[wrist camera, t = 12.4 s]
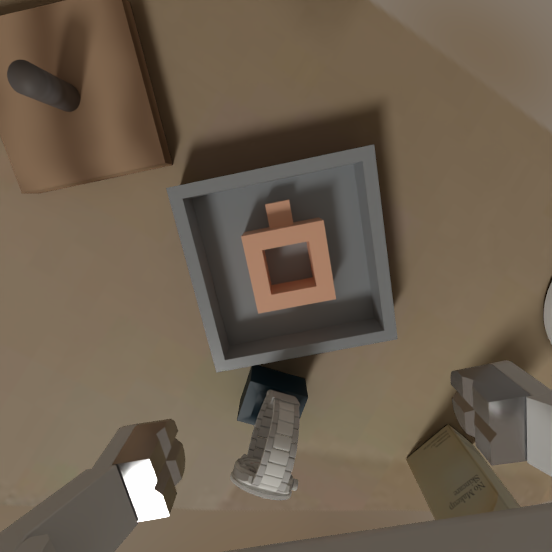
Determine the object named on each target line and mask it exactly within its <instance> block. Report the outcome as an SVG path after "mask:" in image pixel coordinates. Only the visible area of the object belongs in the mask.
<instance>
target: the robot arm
mask: <svg viewBox="0 0 552 552" xmlns="http://www.w3.org/2000/svg"><path fill="white" fill-rule="evenodd" d="M544 324H545V329H546V333H547V336H548V338H549V340H550V342H551V344H552V282H551V284H550V287H549V289H548V292H547V296H546V299H545V305H544ZM451 385H452V386H453V387H454V388H455V389H456V390H457V391H456V393H455V394H454V396H453V398H452V401H453V409H454V412H455V415H456V418H457V420H458V422H459V424H460V426H461V427H462V428H463V430H464V431H465V432H466V433H467V434H469V435H471V436H473V437H475V442H476V446H477V448H478V449H479V450H480V451H481V453H482V454H483V455H484V456H485V458H486V459H487V460H488V461H489V463H490V464H491V465H499V464H507V463H515V462H523V461H527V463H529V464H531V465H532V466H534V467H536V468H538V469H539V470H541V471H543V472H544V473H546V474H548V475H550V476H551V477H552V390H550V389H549V388H548V387H546V386H545V385H543V384H542V383H541V382H539V381H538V380H536V379H535V378H534V377H532V376H531V375H529V374H528V373H527V372H525V371H524V370H522V369H521V368H520V367H518V366H517V365H515V364H514V363H513V362H511V361H507V360H504V361H499V362H494V363H490V364H486V365H481V366H476V367H471V368H465V369H460V370H455V371H452V372H451ZM177 432H178V429H177V426H176V424H175V421H174V420H172V419H166V420H159V421H153V422H146V423H140V424H133V425H127V426H123V427H121V428H119V429H118V431H117V432H116V434H115V435H114V437H113V438H112V440H111V441H110V443H109V444H108V446H107V447H106V448H105V450H104V451H103V453H102V454H101V456H100V457H99V459H98V460H97V462H96V463H95V465H94V466H93V468H92V469H88V470H85V471H84V472H82V473H81V474H80V475H78V476H77V477H76V478H74V479H73V480H72V481H70V482H69V483H67V484H66V485H65V486H63V487H62V488H61V489H59V490H58V491H56V492H55V493H54V494H52V495H51V496H50V497H48V498H47V499H46V500H44V501H43V502H41V503H40V504H39V505H37V506H36V507H35V508H33V509H32V510H30V511H29V512H28V513H26V514H25V515H24V516H22V517H21V518H19V519H18V520H17V521H16V522H14V523H13V524H11V525H10V526H9V527H7V528H6V529H4V530H3V531H2V532H0V552H114V551H115V550H116V549H117V548H118V547H119V545H120V544H121V543H122V542H123V541H124V540H125V539H126V537H127V536H128V535H129V534H130V533H131V531H132V530H133V529H134V528H135V527H136V525H137V524H138V522H139V521H145V520H150V519H155V518H160V517H166V516H169V515H170V512H171V509H172V506H173V503H174V500H175V498H176V495H177V492H176V489H175V485H176V484H177V483H178V482H179V481H180V480H181V479H182V476H183V473H184V469H185V453H184V448H183V445H182V443H181V442H180V441H178V440H177V439H176V438H175V437H176V434H177ZM224 552H552V503H546V504H539V505H532V506H526V507H519V508H512V509H506V510H499V511H492V512H486V513H479V514H472V515H466V516H459V517H452V518H446V519H439V520H433V521H426V522H419V523H412V524H406V525H399V526H392V527H385V528H379V529H372V530H365V531H358V532H352V533H345V534H338V535H331V536H325V537H318V538H311V539H304V540H297V541H291V542H284V543H277V544H270V545H264V546H257V547H251V548H244V549H237V550H231V551H224Z"/></svg>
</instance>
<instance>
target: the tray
mask: <svg viewBox="0 0 552 552" xmlns="http://www.w3.org/2000/svg"><path fill="white" fill-rule="evenodd" d="M166 189H167V193H168V196H169V200H170V204H171V207H172V211H173V215H174V218H175V222H176V226H177V229H178V233H179V237H180V240H181V244H182V248H183V251H184V255H185V259H186V262H187V266H188V270H189V273H190V277H191V281H192V284H193V288H194V292H195V295H196V299H197V303H198V306H199V310H200V314H201V317H202V321H203V325H204V328H205V332H206V336H207V339H208V343H209V347H210V350H211V354H212V358H213V361H214V365H215V369H216V372H221V371H227V370H232V369H238V368H243V367H249V366H254V365H259V364H265V363H270V362H276V361H281V360H287V359H292V358H297V357H303V356H308V355H314V354H319V353H325V352H330V351H335V350H341V349H346V348H352V347H357V346H362V345H368V344H373V343H379V342H384V341H390V340H395V339H397V331H396V322H395V314H394V306H393V297H392V289H391V281H390V272H389V264H388V256H387V247H386V239H385V231H384V222H383V214H382V206H381V197H380V189H379V181H378V172H377V164H376V156H375V147H374V145H369V146H364V147H359V148H355V149H350V150H345V151H340V152H336V153H331V154H326V155H321V156H317V157H312V158H307V159H302V160H298V161H293V162H288V163H283V164H279V165H274V166H269V167H264V168H260V169H255V170H250V171H245V172H241V173H236V174H231V175H226V176H222V177H217V178H212V179H207V180H203V181H198V182H193V183H188V184H184V185H179V186H174V187H169V188H166ZM283 200H289V202H290V208H291V213H292V219H293V222H298V221H303V220H308V219H313V218H318V217H319V218H321V219H322V220H324V226H325V232H326V239H327V245H328V251H329V257H330V264H331V270H332V276H333V283H334V289H335V295H336V299H334V300H329V301H323V302H318V303H313V304H307V305H302V306H297V307H291V308H286V309H281V310H275V311H270V312H265V313H259V314H258V310H257V306H256V301H255V297H254V292H253V288H252V283H251V279H250V274H249V270H248V266H247V261H246V257H245V252H244V248H243V243H242V239H241V236H242V235H243V233H244V232H247V231H252V230H257V229H262V228H267V227H269V222H268V217H267V212H266V207H265V204H268V203H273V202H278V201H283ZM264 251H265V256H266V260H267V265H268V270H269V275H270V280H271V285H275V284H280V283H285V282H290V281H296V280H301V279H306V278H311V277H312V271H311V265H310V259H309V254H308V248H307V242H302V243H297V244H292V245H286V246H281V247H276V248H271V249H266V250H264Z"/></svg>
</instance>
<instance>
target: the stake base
mask: <svg viewBox="0 0 552 552" xmlns="http://www.w3.org/2000/svg"><path fill="white" fill-rule="evenodd" d="M0 136H1V139H2V141H3V144H4V147H5V149H6V152H7V155H8V157H9V160H10V163H11V165H12V168H13V171H14V173H15V176H16V179H17V181H18V184H19V187H20V189H21V192H22V193H43V192H48V191H53V190H57V189H62V188H67V187H71V186H76V185H81V184H86V183H90V182H95V181H100V180H104V179H109V178H114V177H118V176H123V175H128V174H132V173H137V172H142V171H146V170H151V169H156V168H160V167H165V166H170V165H173V164H172V160H171V156H170V152H169V149H168V145H167V141H166V137H165V133H164V130H163V126H162V122H161V118H160V114H159V111H158V107H157V103H156V99H155V95H154V92H153V88H152V84H151V80H150V76H149V73H148V69H147V65H146V61H145V57H144V54H143V50H142V46H141V42H140V38H139V35H138V31H137V27H136V23H135V19H134V16H133V12H132V8H131V4H130V2H129V1H128V0H64V1H60V2H56V3H52V4H47V5H43V6H39V7H35V8H31V9H27V10H22V11H18V12H14V13H10V14H6V15H1V16H0Z"/></svg>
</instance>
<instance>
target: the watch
mask: <svg viewBox="0 0 552 552" xmlns="http://www.w3.org/2000/svg"><path fill="white" fill-rule="evenodd" d="M307 399H308V394H307V388H306V382H305V379H304V378H301V377H297V376H294V375H290V374H287V373H283V372H280V371H276V370H273V369H269V368H266V367H262V366H259V365H254V366H252V367H251V370H250V373H249V376H248V379H247V382H246V385H245V388H244V390H243V393H242V396H241V399H240V405H239V411H238V417H237V421H241V422H245V423H248V424H252V425H255V426H254V430H253V433H252V437H251V441H250V445H249V449H248V454H247V455H246V454H244V455H243V456H242V457H241V458H240V459H238V460H237V461H236V462H235V465H234V469H233V472H232V473H231V476H230V479H231V481H232V482H233V483H234V484H235V485H236V486H238V487H239V488H241V489H242V490H244V491H246V492H248V493H251V494H253V495H256V496H259V497H262V498H267V499H272V500H286V499H289V498H290V497H291V493H292V492H291V490H295V491H296V490H297V488H298V480H297V479H293V477H292V475H291V472H292V469H293V465H294V460H295V456H296V451H297V443H298V434H299V419H300V417H301V414H302V412H303V409H304V406H305V404H306V401H307ZM256 428H257V429H256ZM280 434H281V435H280ZM283 435H285V436H283ZM257 436H259V437H257ZM287 436H289V437H287ZM261 437H263V438H261ZM265 438H267V439H265ZM253 439H255V440H253ZM291 442H293V443H291ZM295 443H296V444H295ZM258 448H259V449H258ZM276 448H277V449H276ZM262 449H263V450H262ZM280 449H281V450H280ZM284 450H285V451H284ZM287 451H289V452H287Z"/></svg>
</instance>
